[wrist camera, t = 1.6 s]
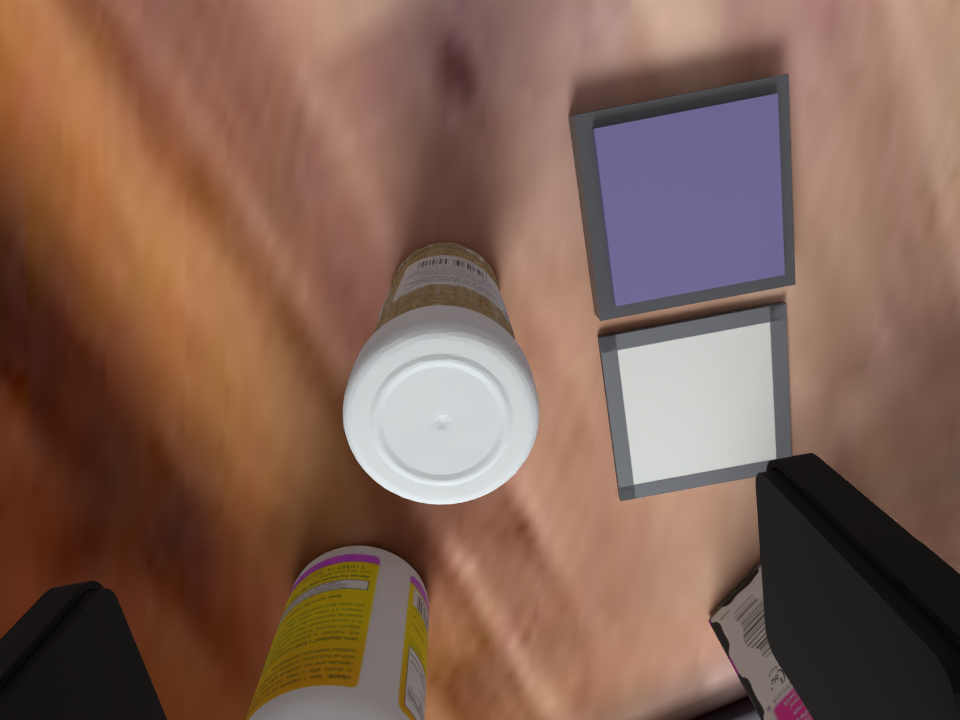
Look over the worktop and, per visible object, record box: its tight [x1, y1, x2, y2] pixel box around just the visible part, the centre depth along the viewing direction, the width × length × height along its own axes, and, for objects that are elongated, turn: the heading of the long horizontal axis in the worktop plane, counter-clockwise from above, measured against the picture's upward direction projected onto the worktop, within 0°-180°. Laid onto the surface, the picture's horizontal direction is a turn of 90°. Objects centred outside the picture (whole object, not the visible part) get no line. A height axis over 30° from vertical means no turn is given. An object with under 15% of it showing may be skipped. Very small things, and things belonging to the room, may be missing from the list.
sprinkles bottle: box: [343, 242, 539, 504], centre depth 21 cm, size 5×5×14 cm
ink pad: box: [569, 74, 795, 321], centre depth 26 cm, size 8×8×2 cm
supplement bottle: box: [245, 546, 429, 720], centre depth 26 cm, size 7×7×13 cm
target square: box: [598, 302, 792, 501], centre depth 29 cm, size 8×8×1 cm
